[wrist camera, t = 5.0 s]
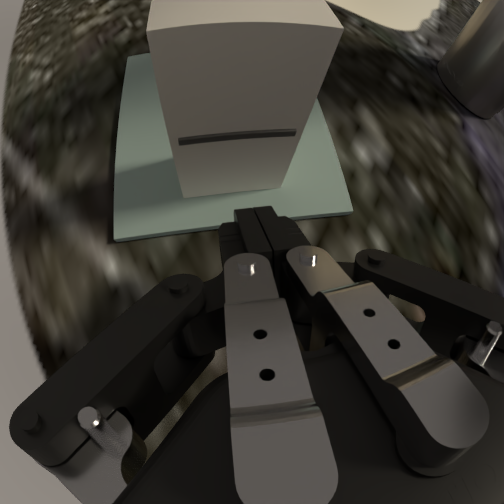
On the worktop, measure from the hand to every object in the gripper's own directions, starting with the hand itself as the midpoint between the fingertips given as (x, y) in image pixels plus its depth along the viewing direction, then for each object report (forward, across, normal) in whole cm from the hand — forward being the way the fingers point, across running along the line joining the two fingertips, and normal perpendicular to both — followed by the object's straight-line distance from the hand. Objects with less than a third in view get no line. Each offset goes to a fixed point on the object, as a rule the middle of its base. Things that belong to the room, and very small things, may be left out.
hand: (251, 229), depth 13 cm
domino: (+8, 0, 0) cm, 8 cm away
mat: (+12, 0, -3) cm, 12 cm away
